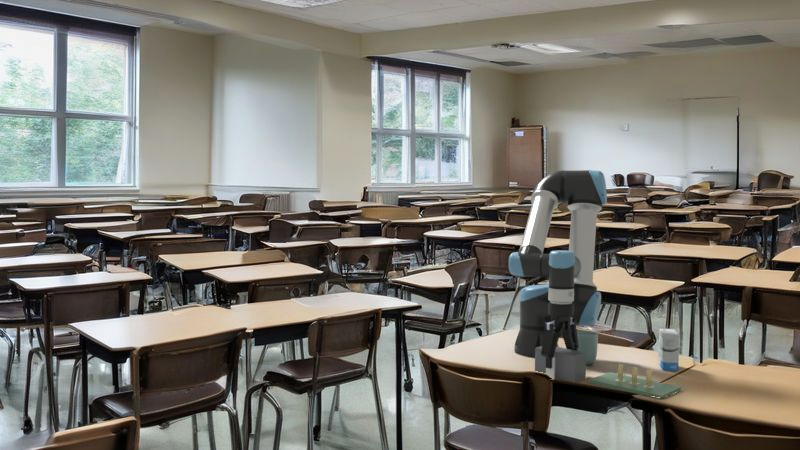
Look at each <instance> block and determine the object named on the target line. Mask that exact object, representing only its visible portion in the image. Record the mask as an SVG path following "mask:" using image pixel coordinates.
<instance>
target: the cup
mask: <svg viewBox="0 0 800 450" xmlns="http://www.w3.org/2000/svg"><path fill="white" fill-rule="evenodd" d="M577 337H578V344H579V348H578V351H581V352H586V366H590V365H593V364H594V363H595V361H596V360H597V355H598V348H599V347H598V345H599V343H598V342H599V341H598V340H599V339H598V338H599V335H598V333H597V332H595V331H590V330H589V331H588V330H577ZM574 344H575V343H574ZM576 349H577V348H576Z"/></svg>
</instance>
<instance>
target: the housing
mask: <svg viewBox="0 0 800 450" xmlns="http://www.w3.org/2000/svg"><path fill="white" fill-rule="evenodd" d="M541 350H542V346H540V347H536V348H535V357H534V372H535V371H538V372H543V373H546V357H545V356H542V355H541ZM553 357H554V358H555V380H561V381H565V382H570V383H572V384H573V383H575V384H576V383H578V382H581V381H584V380H586V377H587V374H586V372H587V365H586V352H581V351H576V350H571V349H566V347H560V346H559V347H556V350H555V353H554V356H553Z"/></svg>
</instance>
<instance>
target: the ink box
mask: <svg viewBox="0 0 800 450" xmlns="http://www.w3.org/2000/svg"><path fill="white" fill-rule="evenodd" d="M658 335H659V337H658V362H657V363H658V364H657V365H659V367H660V369H661V370H662V371H665V372H667V371H670V372H671V371H673V372H679V360H680V359H679V355H680V352H679V351H680V334H679V333H678V332H677V331H676V329H674V328H672V329H671V328H659V332H658Z"/></svg>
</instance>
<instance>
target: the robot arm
mask: <svg viewBox="0 0 800 450" xmlns="http://www.w3.org/2000/svg"><path fill="white" fill-rule="evenodd" d="M605 178H606V177H605V175H604V173H603V172H602V170H591V169H589V170H584V169H583V170H563V169H562V170H555V171H553V172H551V173H548V174H547V175H546V176H544V177H543V178H542V179H541V180H540V181H539V182H538V183H537V184H536V186H535V187H534V188H533V191H532V193H531V197H530V203H531V208H530V210H529V214H528V218H527V222H526V226H525V229H524V233H523V235H522V239H521V243H520V247H519V250H518V251H516V252H515V251H514V252H511V254H510V255H509V256H508V270H509V271H508V272H509V273H510V275H512V276H517V277H523V278H524V277H529V278H530V277H532V278H548V284H535V285H529V286H525V287H523V288H522V289H521V291H520V296H519V331H518V334H517V337H516V339H515V343H514V352H515V353H516V354H518V353H519V354H518V355H521V354H522V355H523V356H527V357H534V358H535V348H536V347H540V346H542V350H541V355H542V356H545V357H546V374H548V375H549V376H550V377H551V378H552V379H551V380H553V381H555V380H556V378H555V358H554V357H553V356H554V353H555V350H556V347H560V346H559V343H558V342H559V339H560V337H562V338H563V342H564V345H565V348H566V349H571V350H576V351H578V348H579V344H578V337H577V331H578V330H577V326H579V327H582V326H583V327H592V326H594V325H595V324H596V323H597V321H598V318H599V314H600V310H601V304H602V293H601V292H600V291H597V290H598V286H597V285H596V284H595V283H594V282H593V280H594V267H595V266H594V264H595V250H596V249H595V248H596V247H595V245H596V232H597V218H598V217H597V216H598V215H597V214H598V213H599V212H601V211H602V209H603V205H606V204H607V203H608V193H607V184H606V179H605ZM559 204H567V209H568V210H569V211H570V212H571V214H570V215H571V216H570V227H569V231H570V232H569V242H568V245H569V246H568V250H566V249H565V250H564V249H563V250H562V249H559V250H558V249H557V250H551V251H550V252H549V253H544V250H545V246H546V241H547V237H548V234H549V230H550V226H551V221H552V217H553V214H554V210H555V209H556V208H557V207H559V206H558V205H559ZM574 343H575V344H574ZM576 348H577V349H576Z"/></svg>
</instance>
